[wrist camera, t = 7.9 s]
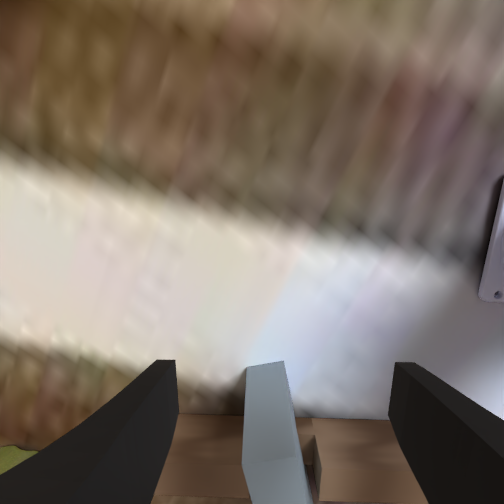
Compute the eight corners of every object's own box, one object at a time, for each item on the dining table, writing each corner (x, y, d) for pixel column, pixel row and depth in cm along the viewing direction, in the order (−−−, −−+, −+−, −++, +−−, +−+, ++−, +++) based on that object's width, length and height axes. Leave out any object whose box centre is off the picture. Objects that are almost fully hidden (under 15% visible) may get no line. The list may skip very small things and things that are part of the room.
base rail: (405, 420, 23) (434, 472, 19) (400, 449, 24) (427, 504, 20) (158, 413, 23) (138, 462, 20) (160, 441, 24) (141, 494, 20)
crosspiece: (311, 491, 25) (332, 623, 18) (278, 496, 25) (287, 629, 18) (283, 360, 22) (296, 456, 15) (246, 367, 22) (241, 464, 15)
